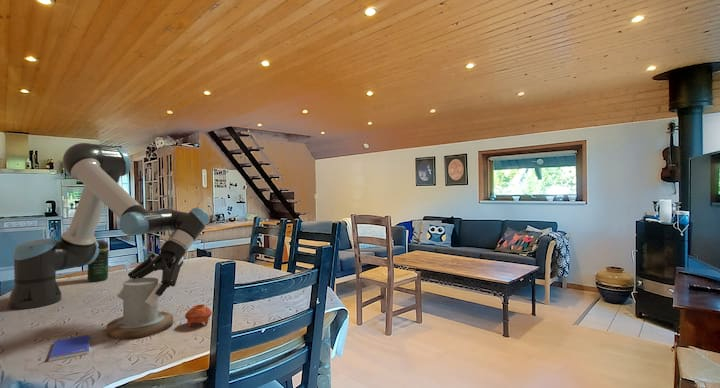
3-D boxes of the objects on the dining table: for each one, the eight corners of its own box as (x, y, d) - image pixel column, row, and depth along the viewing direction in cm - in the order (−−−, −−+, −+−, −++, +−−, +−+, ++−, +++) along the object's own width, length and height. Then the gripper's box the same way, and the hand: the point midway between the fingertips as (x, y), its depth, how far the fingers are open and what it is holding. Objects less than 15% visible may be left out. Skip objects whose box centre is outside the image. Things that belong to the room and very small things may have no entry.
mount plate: (92, 332, 110) (93, 324, 110) (149, 314, 126) (149, 307, 126) (131, 343, 102) (131, 335, 102) (185, 322, 119) (185, 315, 119)
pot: (193, 330, 112) (190, 308, 112) (182, 330, 117) (179, 308, 117) (217, 322, 118) (214, 301, 119) (206, 322, 123) (203, 302, 124)
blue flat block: (89, 349, 96) (90, 334, 106) (48, 357, 91) (54, 340, 102) (89, 355, 96) (90, 339, 106) (48, 363, 91) (54, 346, 102)
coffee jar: (108, 280, 170) (108, 241, 170) (87, 283, 165) (87, 242, 165) (108, 276, 178) (108, 238, 178) (87, 278, 173) (88, 239, 173)
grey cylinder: (151, 312, 121) (151, 276, 121) (163, 319, 115) (163, 281, 115) (118, 320, 114) (118, 281, 114) (129, 328, 108) (129, 287, 108)
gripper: (209, 255, 123) (169, 313, 109) (159, 249, 133) (117, 301, 120) (196, 242, 118) (152, 300, 105) (145, 236, 128) (100, 289, 115)
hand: (133, 301), depth 112 cm, fingers open, 13 cm apart
